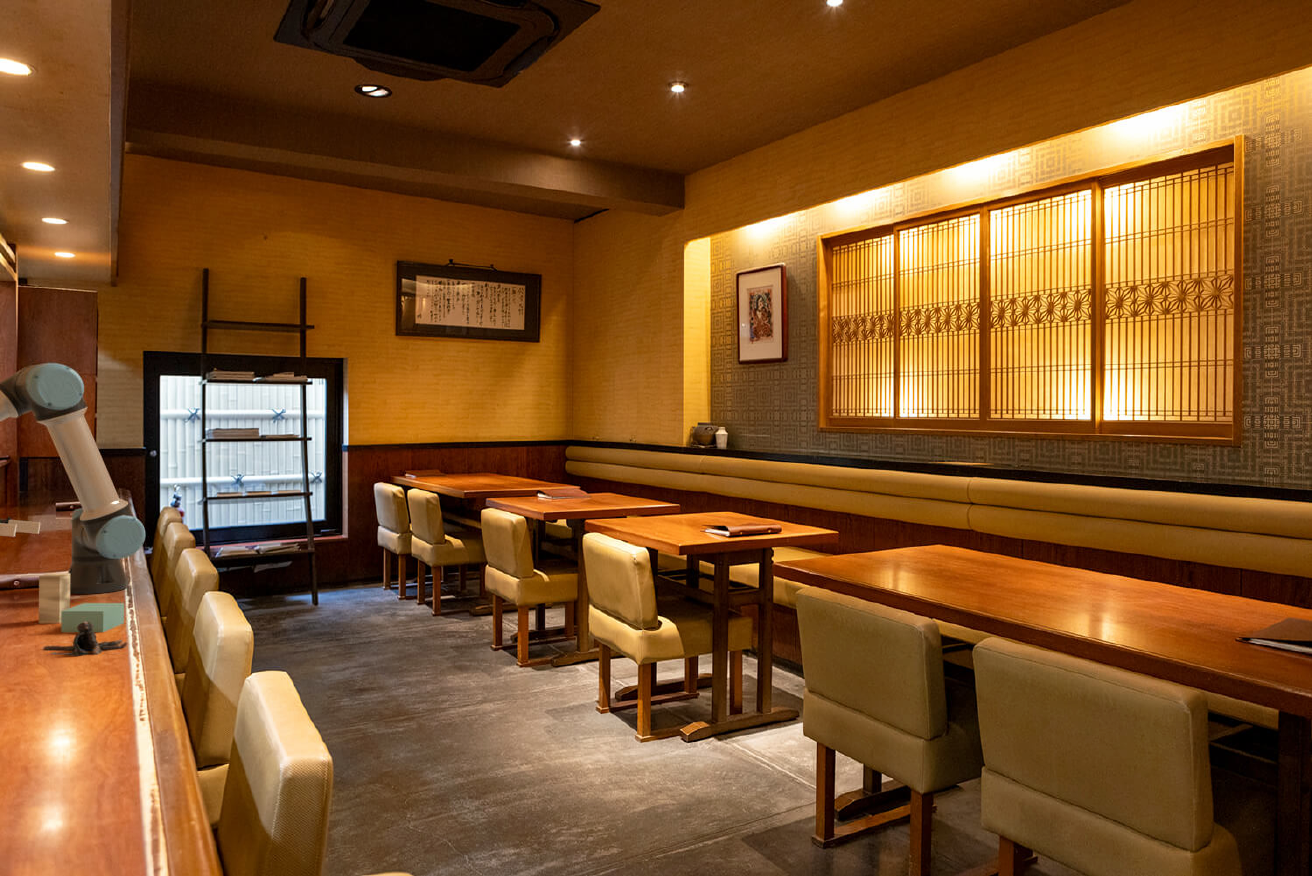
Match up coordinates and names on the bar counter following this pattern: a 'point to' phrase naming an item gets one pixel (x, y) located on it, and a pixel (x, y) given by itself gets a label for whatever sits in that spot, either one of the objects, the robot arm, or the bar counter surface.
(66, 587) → the block
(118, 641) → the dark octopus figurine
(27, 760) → the bar counter surface
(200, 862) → the bar counter surface
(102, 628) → the green square block
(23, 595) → the bar counter surface
